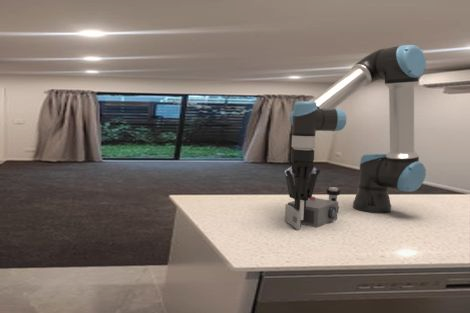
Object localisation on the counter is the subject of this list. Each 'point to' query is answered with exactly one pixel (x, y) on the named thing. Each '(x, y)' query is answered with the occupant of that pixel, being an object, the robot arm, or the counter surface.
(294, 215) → the door
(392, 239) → the counter surface
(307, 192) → the robot arm
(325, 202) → the housing
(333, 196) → the push button
